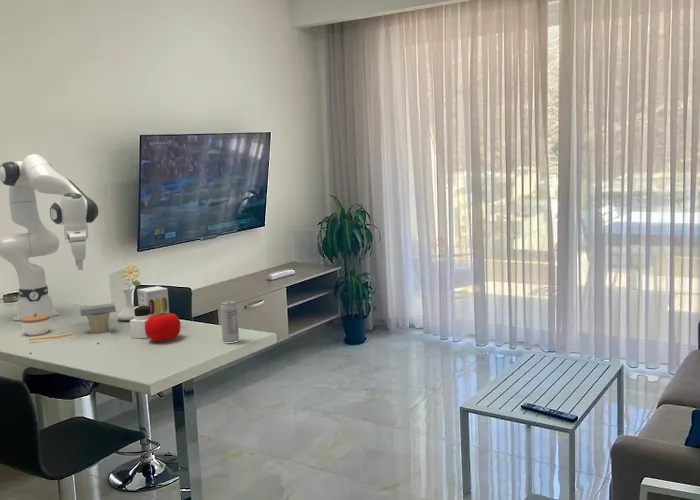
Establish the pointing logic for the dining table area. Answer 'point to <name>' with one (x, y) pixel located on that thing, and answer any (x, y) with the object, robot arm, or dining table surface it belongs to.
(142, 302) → the supplement box
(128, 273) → the flower in vase
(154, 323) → the tomato
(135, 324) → the medicine bottle
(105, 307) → the slate tile
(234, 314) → the energy drink can
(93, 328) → the flower pot
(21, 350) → the dining table surface
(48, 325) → the lidded jar
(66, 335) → the wooden board
